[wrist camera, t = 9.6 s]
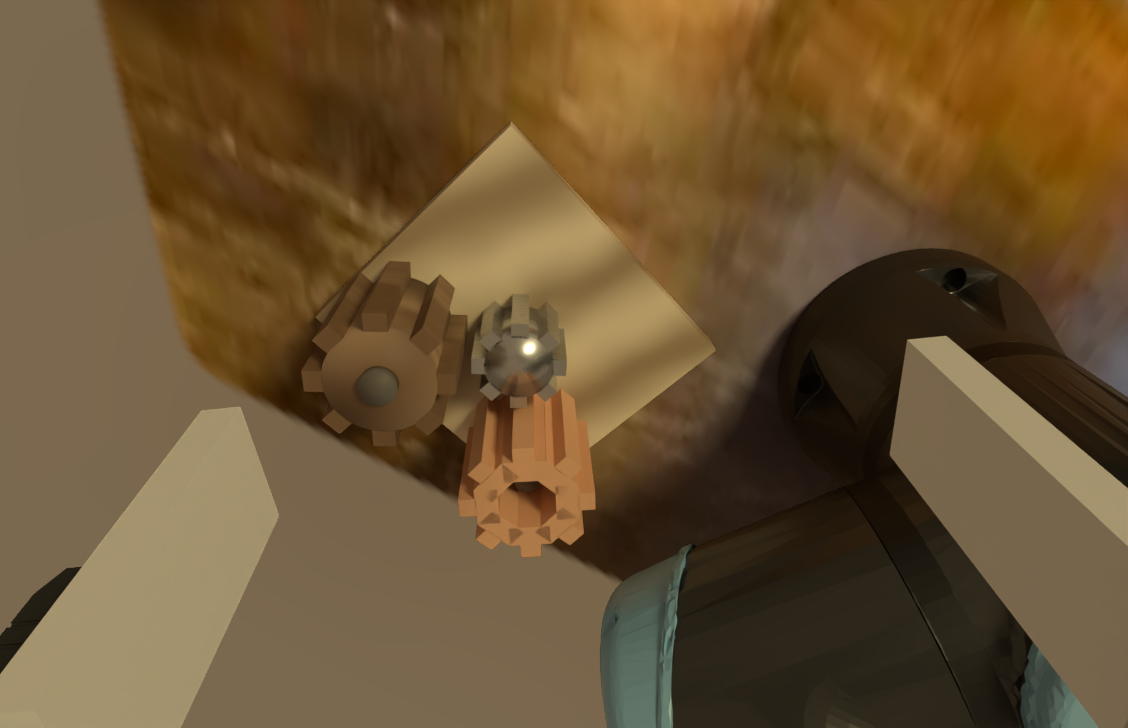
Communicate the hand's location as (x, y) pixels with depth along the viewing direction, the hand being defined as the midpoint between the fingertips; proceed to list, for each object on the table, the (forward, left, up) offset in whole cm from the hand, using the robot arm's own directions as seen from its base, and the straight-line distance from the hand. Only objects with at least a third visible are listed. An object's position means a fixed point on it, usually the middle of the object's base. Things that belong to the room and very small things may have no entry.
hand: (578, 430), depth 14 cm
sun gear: (-6, +8, -25) cm, 26 cm away
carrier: (-6, +8, -26) cm, 28 cm away
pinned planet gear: (-1, +12, -25) cm, 27 cm away
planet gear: (-11, +12, -25) cm, 29 cm away
